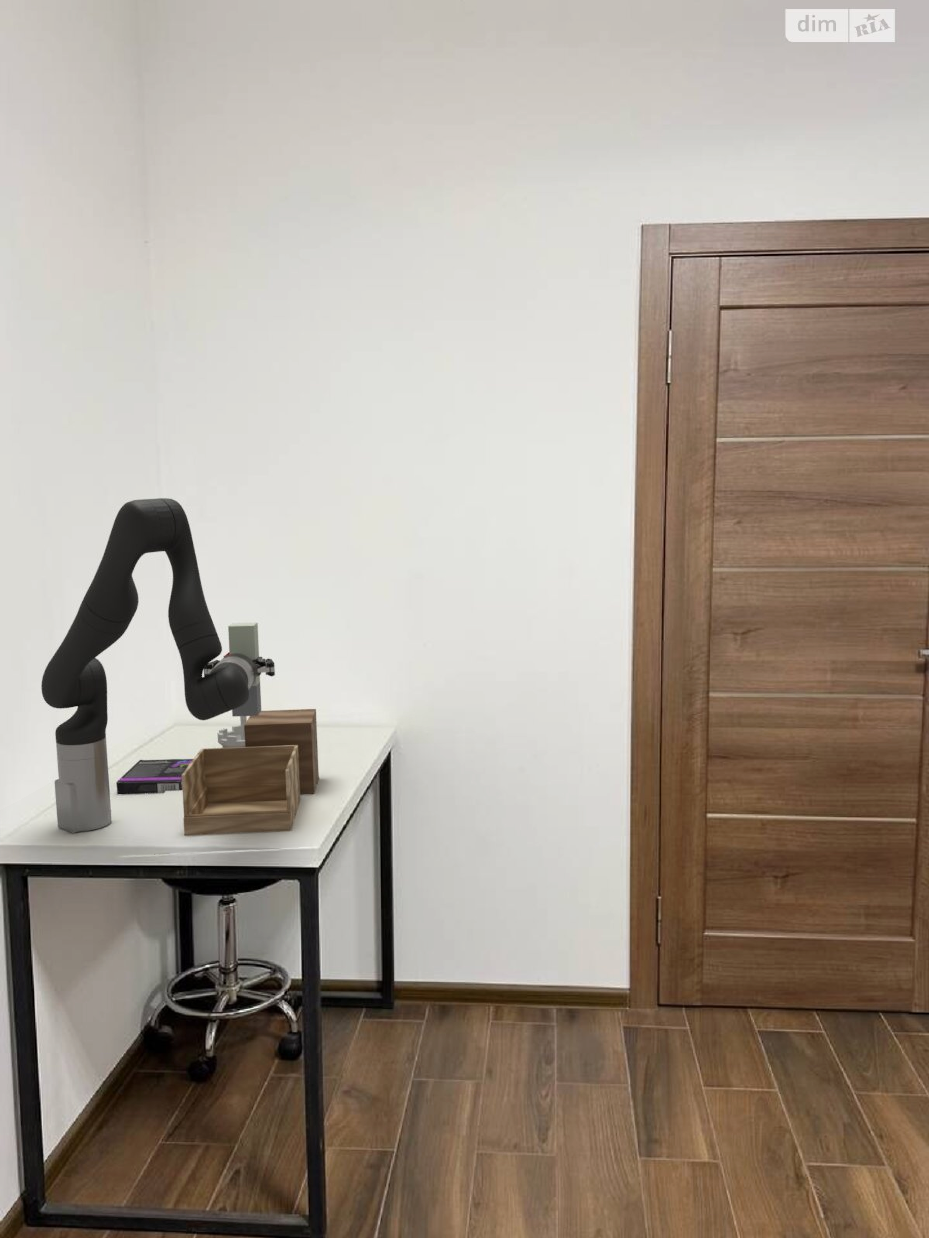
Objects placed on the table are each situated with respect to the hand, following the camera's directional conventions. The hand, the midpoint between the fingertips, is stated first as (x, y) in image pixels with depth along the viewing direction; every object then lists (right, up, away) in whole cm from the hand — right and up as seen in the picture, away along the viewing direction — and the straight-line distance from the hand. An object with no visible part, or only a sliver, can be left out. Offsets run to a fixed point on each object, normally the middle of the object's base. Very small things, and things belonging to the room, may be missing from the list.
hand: (246, 662), depth 206 cm
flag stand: (-11, -25, +52) cm, 59 cm away
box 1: (-25, -29, +27) cm, 47 cm away
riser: (+4, -29, +18) cm, 34 cm away
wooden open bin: (0, -31, -2) cm, 31 cm away
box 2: (0, -10, -1) cm, 10 cm away
